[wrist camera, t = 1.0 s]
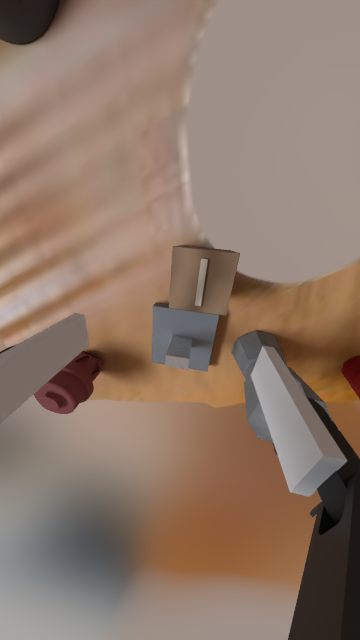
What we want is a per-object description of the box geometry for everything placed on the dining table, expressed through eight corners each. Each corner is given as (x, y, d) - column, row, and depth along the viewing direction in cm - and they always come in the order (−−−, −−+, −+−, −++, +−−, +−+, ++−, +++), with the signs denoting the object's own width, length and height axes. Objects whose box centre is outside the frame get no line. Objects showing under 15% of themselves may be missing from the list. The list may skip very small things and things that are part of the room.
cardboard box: (177, 292, 31) (168, 308, 23) (181, 245, 27) (172, 246, 20) (221, 298, 30) (226, 316, 23) (230, 250, 27) (240, 253, 19)
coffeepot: (229, 323, 32) (252, 405, 16) (283, 317, 30) (372, 405, 14) (233, 383, 38) (253, 488, 22) (278, 382, 36) (337, 495, 20)
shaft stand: (156, 302, 32) (140, 321, 25) (218, 310, 31) (222, 333, 24) (154, 356, 38) (141, 385, 30) (207, 365, 37) (207, 397, 29)
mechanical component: (65, 344, 40) (103, 342, 38) (80, 376, 44) (115, 376, 42) (12, 382, 29) (61, 383, 27) (38, 421, 33) (83, 423, 31)
